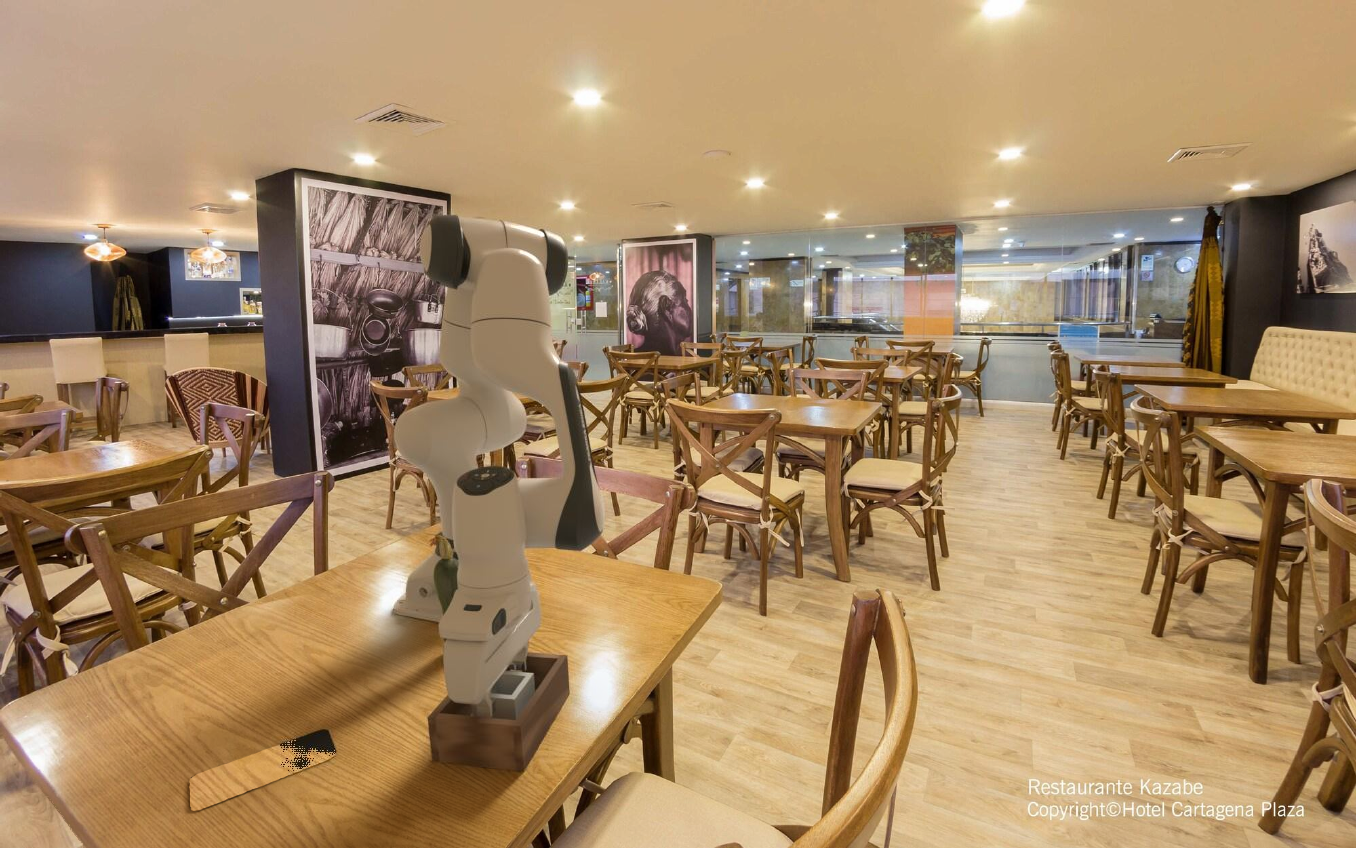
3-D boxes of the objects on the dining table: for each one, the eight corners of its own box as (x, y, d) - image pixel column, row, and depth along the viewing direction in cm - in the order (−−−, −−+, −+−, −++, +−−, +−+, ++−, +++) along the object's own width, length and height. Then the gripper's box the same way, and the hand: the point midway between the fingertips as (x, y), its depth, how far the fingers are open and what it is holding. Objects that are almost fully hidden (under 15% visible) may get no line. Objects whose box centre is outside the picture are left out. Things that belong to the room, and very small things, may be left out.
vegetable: (476, 649, 107) (465, 531, 104) (459, 663, 103) (447, 541, 100) (453, 645, 109) (442, 529, 105) (435, 658, 105) (423, 538, 101)
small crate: (474, 730, 85) (470, 695, 84) (495, 703, 91) (492, 669, 90) (517, 735, 84) (514, 699, 83) (536, 706, 90) (533, 673, 89)
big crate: (432, 761, 81) (427, 717, 80) (491, 687, 96) (488, 649, 95) (524, 771, 79) (520, 726, 78) (569, 693, 94) (567, 655, 93)
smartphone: (338, 755, 82) (189, 811, 73) (338, 760, 82) (190, 817, 74) (327, 726, 88) (188, 775, 79) (328, 731, 88) (189, 780, 79)
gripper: (507, 562, 95) (514, 650, 97) (429, 632, 75) (441, 741, 78) (549, 564, 94) (555, 654, 96) (481, 636, 74) (491, 746, 77)
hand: (503, 693), depth 87 cm, fingers open, 8 cm apart
